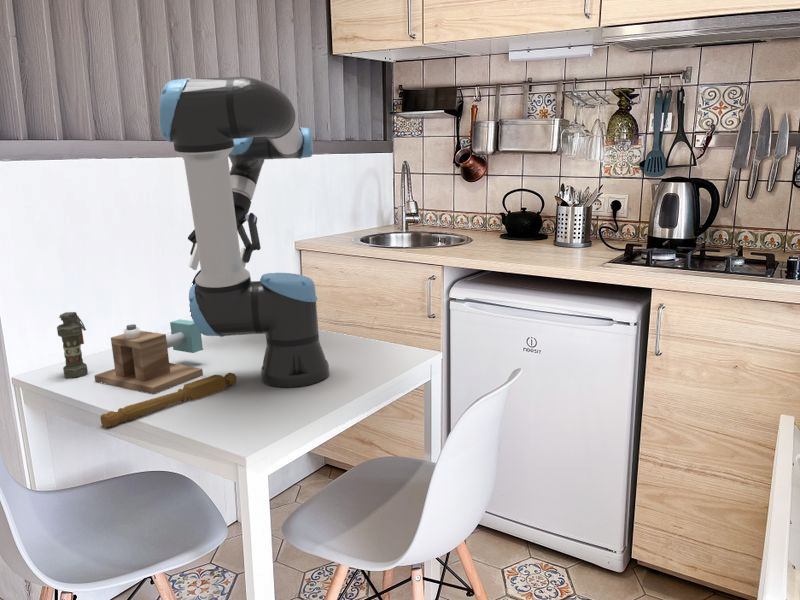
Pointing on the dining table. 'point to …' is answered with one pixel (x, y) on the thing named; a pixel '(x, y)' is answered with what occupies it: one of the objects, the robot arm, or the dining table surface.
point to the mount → (145, 364)
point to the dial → (131, 332)
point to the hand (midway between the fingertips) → (215, 271)
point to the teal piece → (184, 337)
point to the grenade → (72, 344)
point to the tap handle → (170, 399)
